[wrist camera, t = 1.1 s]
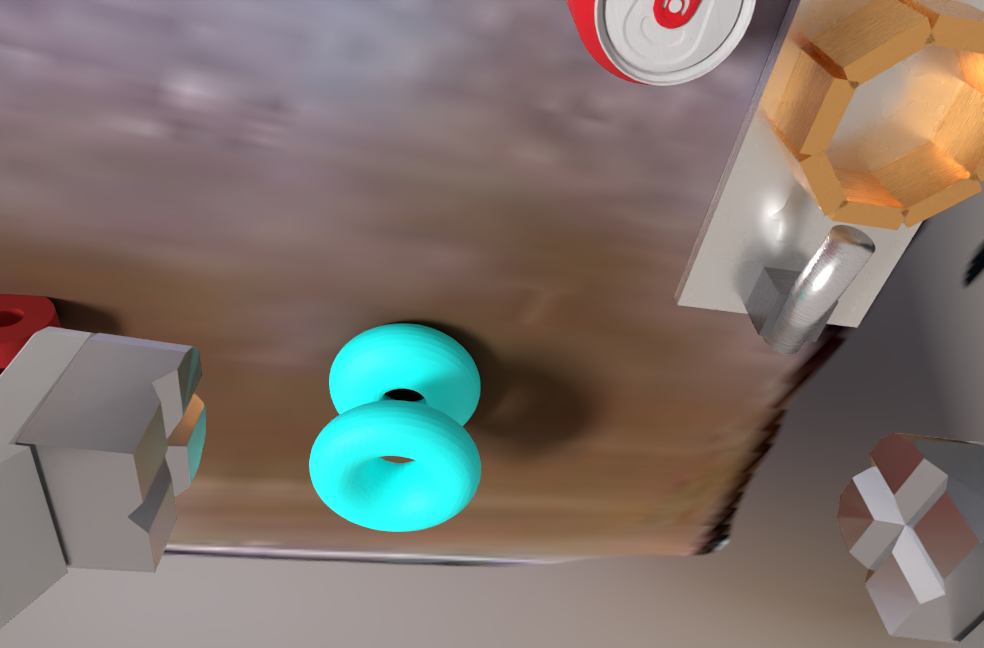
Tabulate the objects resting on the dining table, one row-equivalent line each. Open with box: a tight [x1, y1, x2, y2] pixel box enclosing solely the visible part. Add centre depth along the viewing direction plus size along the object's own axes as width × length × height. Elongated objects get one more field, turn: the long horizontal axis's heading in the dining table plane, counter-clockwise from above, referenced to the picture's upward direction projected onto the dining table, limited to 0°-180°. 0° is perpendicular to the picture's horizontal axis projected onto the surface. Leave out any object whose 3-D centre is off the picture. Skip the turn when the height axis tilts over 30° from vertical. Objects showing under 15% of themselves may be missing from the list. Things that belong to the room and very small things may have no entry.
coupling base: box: [674, 0, 984, 354], centre depth 35 cm, size 28×12×6 cm, turn 171°
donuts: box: [309, 323, 481, 532], centre depth 45 cm, size 10×10×10 cm
